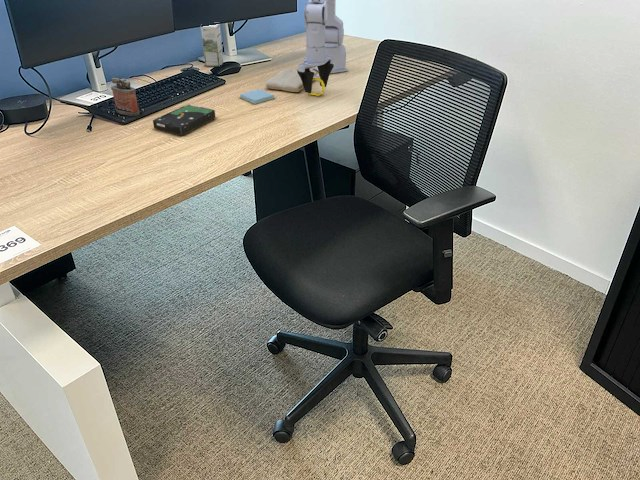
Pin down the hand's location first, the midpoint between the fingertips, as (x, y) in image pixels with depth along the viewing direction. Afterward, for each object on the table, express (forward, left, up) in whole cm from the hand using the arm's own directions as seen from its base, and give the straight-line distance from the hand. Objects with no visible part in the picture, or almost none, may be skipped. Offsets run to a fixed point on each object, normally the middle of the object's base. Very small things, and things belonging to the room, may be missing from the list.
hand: (315, 89), depth 171 cm
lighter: (+57, -10, -2) cm, 58 cm away
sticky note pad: (+18, -5, -2) cm, 19 cm away
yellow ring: (0, 0, -2) cm, 2 cm away
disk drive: (+44, +6, -2) cm, 44 cm away
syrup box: (+19, -46, -2) cm, 50 cm away
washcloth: (+2, -13, -2) cm, 14 cm away
